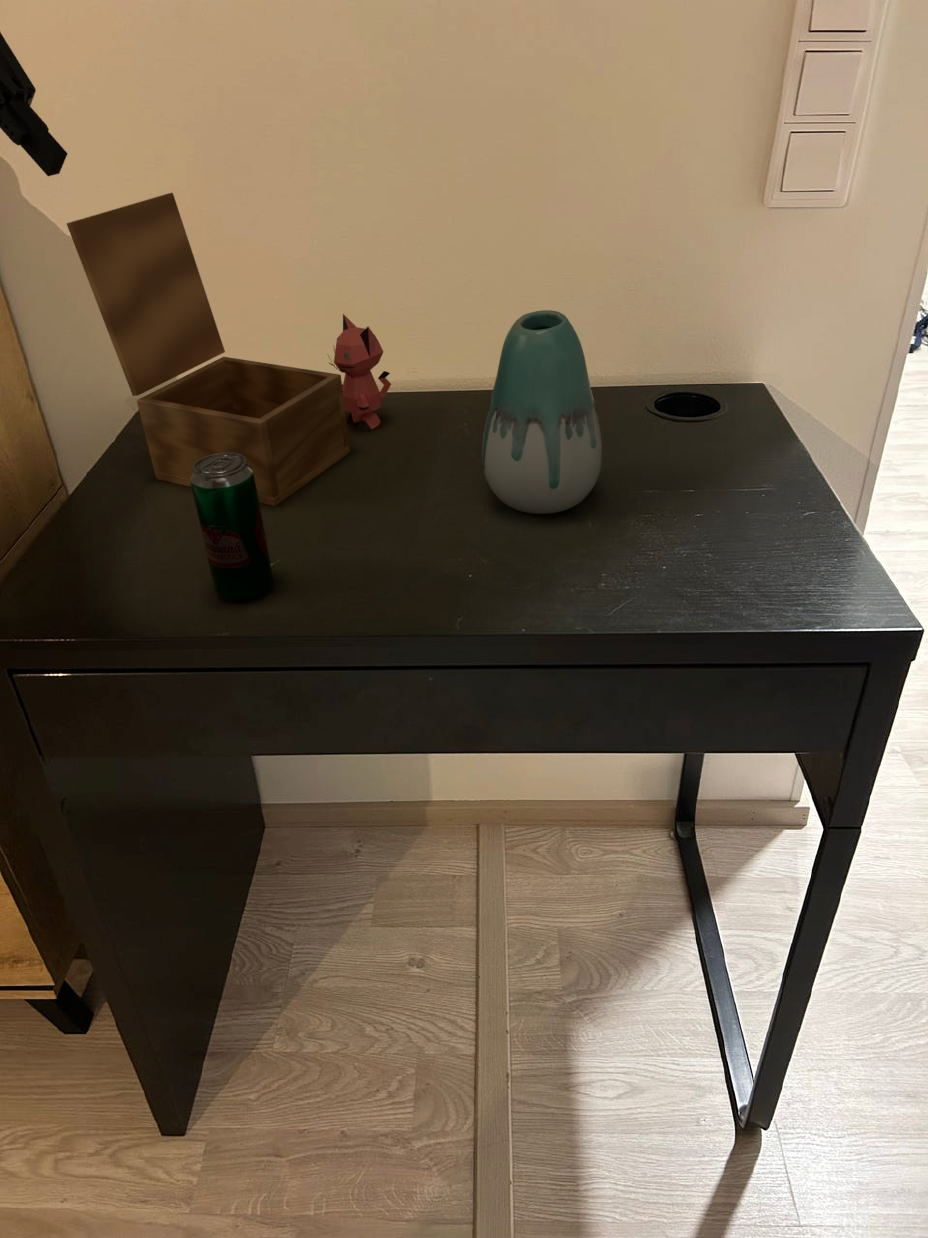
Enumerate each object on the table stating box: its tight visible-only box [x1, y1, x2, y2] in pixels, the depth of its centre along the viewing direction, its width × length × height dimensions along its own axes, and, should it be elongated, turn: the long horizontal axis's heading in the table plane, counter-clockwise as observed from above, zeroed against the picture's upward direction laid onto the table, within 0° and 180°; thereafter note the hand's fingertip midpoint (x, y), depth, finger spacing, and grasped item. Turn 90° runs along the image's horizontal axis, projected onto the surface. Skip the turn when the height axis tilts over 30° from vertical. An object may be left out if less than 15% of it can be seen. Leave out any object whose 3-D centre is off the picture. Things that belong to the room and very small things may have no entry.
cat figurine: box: [327, 313, 392, 432], centre depth 109 cm, size 7×7×12 cm
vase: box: [481, 309, 603, 515], centre depth 89 cm, size 12×12×18 cm
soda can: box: [190, 452, 274, 603], centre depth 80 cm, size 5×5×12 cm
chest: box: [136, 356, 351, 507], centre depth 101 cm, size 16×14×9 cm
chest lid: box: [66, 192, 226, 397], centre depth 98 cm, size 17×14×1 cm
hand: (57, 164), depth 94 cm, fingers closed
